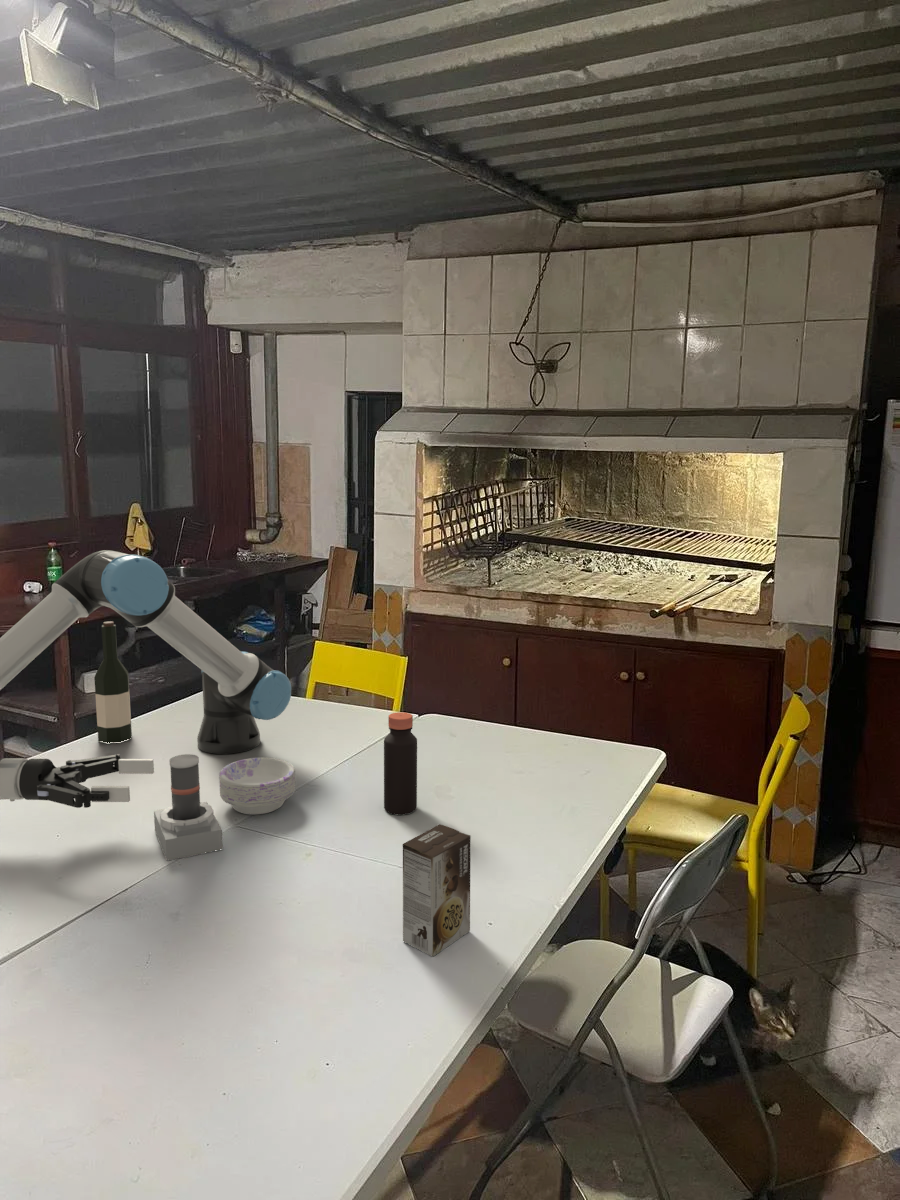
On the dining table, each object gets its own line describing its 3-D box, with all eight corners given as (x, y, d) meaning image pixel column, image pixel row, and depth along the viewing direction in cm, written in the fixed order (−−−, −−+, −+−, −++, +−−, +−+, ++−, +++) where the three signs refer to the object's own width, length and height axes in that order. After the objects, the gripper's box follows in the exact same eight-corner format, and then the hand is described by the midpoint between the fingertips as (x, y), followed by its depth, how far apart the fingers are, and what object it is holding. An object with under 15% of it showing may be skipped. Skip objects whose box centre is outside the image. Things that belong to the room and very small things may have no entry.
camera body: (207, 820, 173) (206, 794, 172) (222, 849, 161) (221, 821, 160) (154, 830, 169) (153, 803, 168) (166, 860, 157) (165, 832, 156)
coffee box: (439, 917, 139) (440, 822, 136) (471, 932, 135) (472, 834, 132) (400, 942, 132) (400, 842, 129) (433, 958, 128) (433, 855, 125)
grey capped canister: (198, 812, 168) (195, 752, 166) (203, 822, 163) (201, 761, 161) (170, 817, 165) (167, 756, 163) (175, 827, 161) (172, 765, 159)
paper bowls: (278, 824, 172) (277, 786, 171) (207, 817, 175) (205, 779, 174) (306, 795, 187) (305, 759, 185) (240, 788, 190) (238, 753, 188)
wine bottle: (138, 734, 224) (132, 619, 219) (123, 744, 216) (116, 626, 211) (107, 732, 225) (100, 618, 219) (91, 743, 217) (83, 625, 211)
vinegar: (377, 811, 179) (377, 717, 175) (394, 799, 185) (394, 708, 181) (406, 818, 176) (406, 722, 172) (422, 806, 182) (423, 713, 178)
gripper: (56, 773, 175) (162, 773, 176) (-5, 827, 151) (118, 827, 151) (53, 737, 174) (161, 738, 174) (-9, 785, 149) (116, 786, 150)
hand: (141, 779), depth 163 cm, fingers open, 13 cm apart
